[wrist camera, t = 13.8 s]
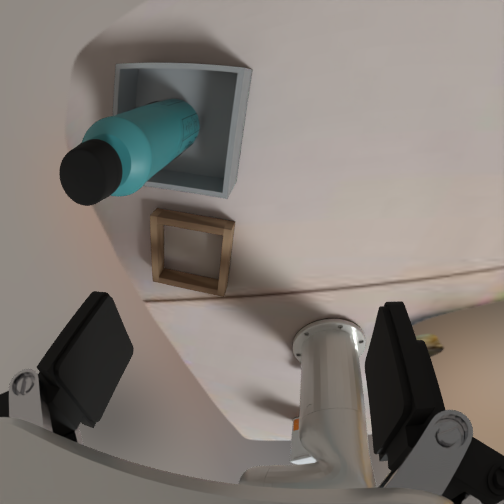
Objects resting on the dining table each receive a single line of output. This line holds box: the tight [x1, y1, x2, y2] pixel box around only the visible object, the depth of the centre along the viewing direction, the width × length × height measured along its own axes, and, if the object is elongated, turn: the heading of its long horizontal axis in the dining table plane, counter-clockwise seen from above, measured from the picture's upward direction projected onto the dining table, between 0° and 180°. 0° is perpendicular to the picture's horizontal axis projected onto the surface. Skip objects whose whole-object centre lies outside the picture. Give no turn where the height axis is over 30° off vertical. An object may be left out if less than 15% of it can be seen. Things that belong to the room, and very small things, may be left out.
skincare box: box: [290, 417, 316, 465], centre depth 61 cm, size 6×4×12 cm
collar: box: [150, 208, 235, 297], centre depth 43 cm, size 11×11×2 cm
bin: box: [113, 63, 252, 199], centre depth 32 cm, size 14×14×6 cm
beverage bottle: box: [60, 98, 200, 206], centre depth 25 cm, size 6×7×20 cm
